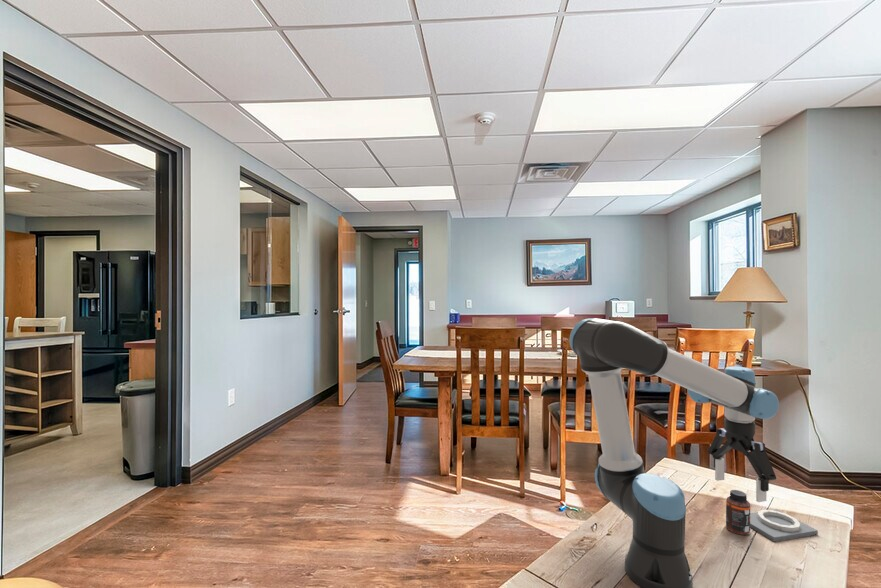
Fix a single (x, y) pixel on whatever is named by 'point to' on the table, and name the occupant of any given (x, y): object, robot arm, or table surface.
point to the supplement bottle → (738, 513)
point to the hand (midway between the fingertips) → (739, 489)
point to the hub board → (779, 525)
